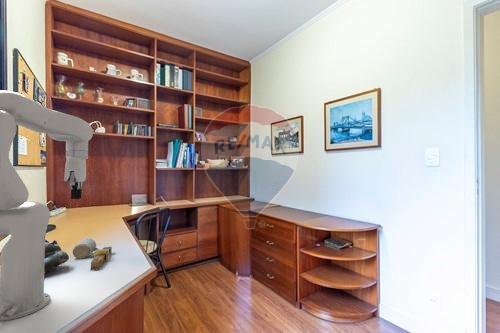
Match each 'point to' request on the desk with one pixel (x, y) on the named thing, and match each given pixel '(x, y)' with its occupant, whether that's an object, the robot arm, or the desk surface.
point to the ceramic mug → (85, 248)
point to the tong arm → (100, 261)
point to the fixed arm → (95, 261)
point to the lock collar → (102, 251)
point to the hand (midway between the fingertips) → (76, 198)
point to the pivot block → (109, 249)
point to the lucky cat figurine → (53, 255)
